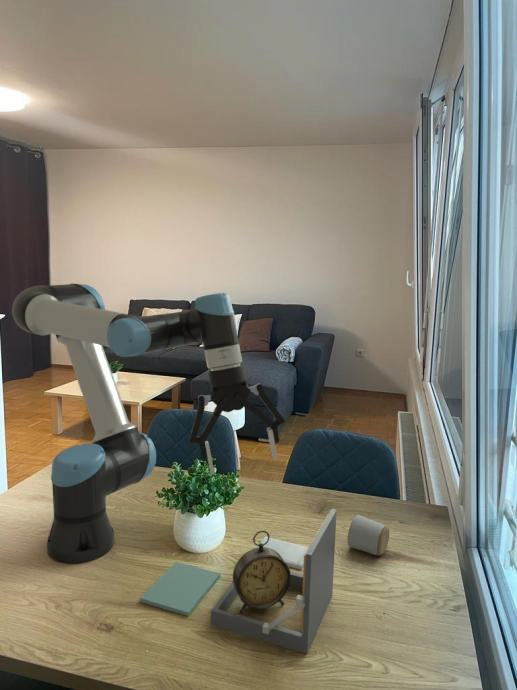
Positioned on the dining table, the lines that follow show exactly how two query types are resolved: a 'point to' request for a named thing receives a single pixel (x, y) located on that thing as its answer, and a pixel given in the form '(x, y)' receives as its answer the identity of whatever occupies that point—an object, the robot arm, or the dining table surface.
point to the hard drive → (287, 551)
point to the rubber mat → (181, 588)
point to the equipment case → (311, 602)
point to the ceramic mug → (368, 535)
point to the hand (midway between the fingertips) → (244, 465)
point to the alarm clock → (261, 577)
